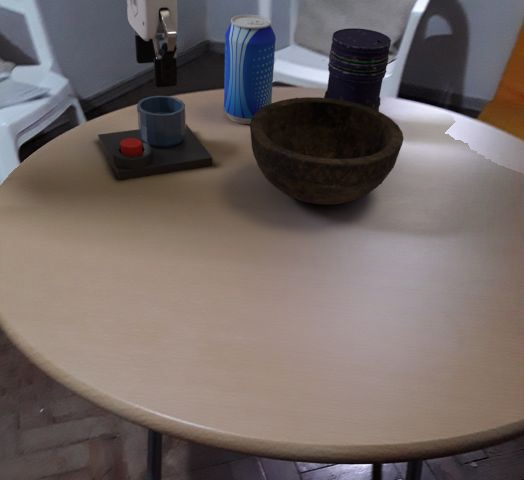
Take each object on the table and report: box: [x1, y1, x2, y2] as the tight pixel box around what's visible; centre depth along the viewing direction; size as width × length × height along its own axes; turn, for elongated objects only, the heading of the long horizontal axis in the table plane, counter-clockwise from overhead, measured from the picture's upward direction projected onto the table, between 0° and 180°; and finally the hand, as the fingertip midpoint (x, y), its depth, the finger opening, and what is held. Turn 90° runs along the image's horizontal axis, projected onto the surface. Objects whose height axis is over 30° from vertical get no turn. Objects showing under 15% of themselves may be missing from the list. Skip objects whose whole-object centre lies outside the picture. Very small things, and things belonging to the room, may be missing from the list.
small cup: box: [136, 95, 187, 147], centre depth 101 cm, size 7×7×6 cm
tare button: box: [120, 138, 142, 156], centre depth 95 cm, size 3×3×2 cm
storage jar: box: [323, 27, 392, 112], centre depth 108 cm, size 10×10×15 cm
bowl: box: [249, 96, 404, 205], centre depth 92 cm, size 22×22×10 cm
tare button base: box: [97, 123, 213, 181], centre depth 100 cm, size 15×13×3 cm
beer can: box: [223, 14, 277, 125], centre depth 108 cm, size 8×8×16 cm
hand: (156, 73), depth 95 cm, fingers open, 9 cm apart
